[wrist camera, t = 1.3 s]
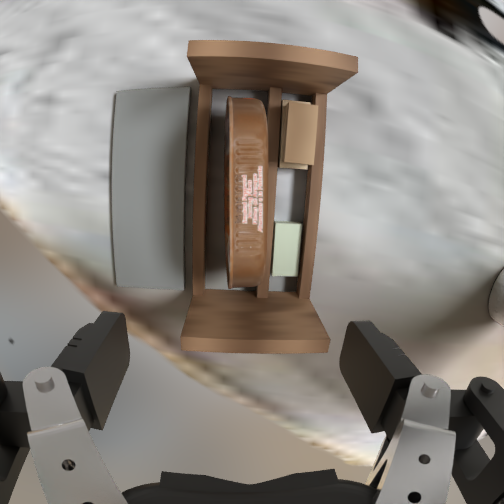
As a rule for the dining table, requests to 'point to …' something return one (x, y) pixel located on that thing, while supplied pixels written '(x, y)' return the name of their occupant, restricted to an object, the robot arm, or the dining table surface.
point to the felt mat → (149, 187)
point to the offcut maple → (282, 119)
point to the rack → (263, 301)
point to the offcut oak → (299, 133)
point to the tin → (245, 191)
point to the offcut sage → (286, 248)
